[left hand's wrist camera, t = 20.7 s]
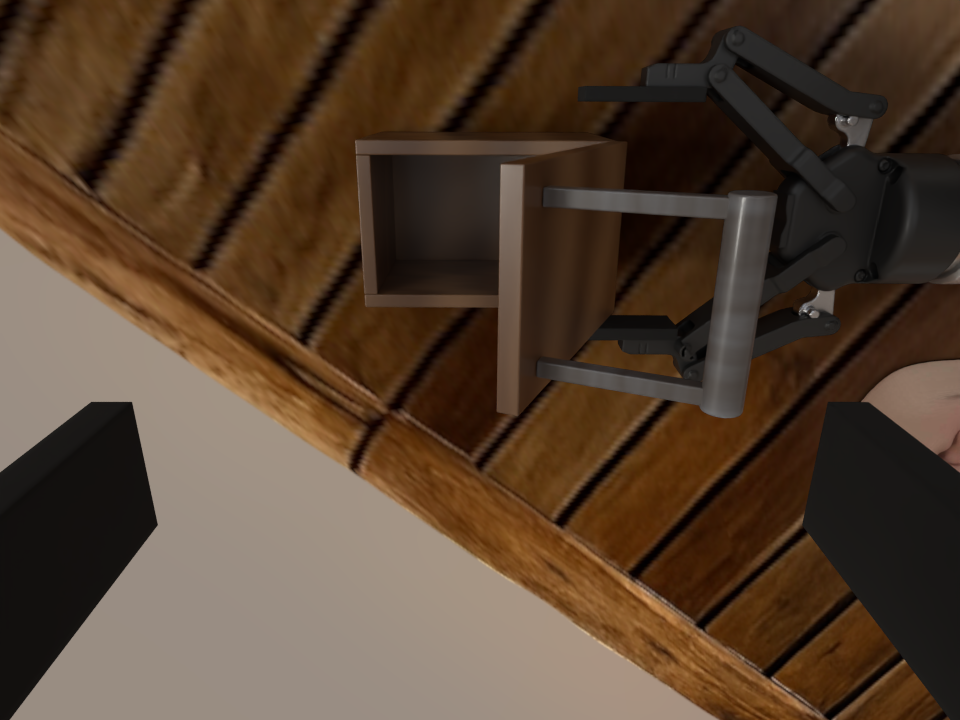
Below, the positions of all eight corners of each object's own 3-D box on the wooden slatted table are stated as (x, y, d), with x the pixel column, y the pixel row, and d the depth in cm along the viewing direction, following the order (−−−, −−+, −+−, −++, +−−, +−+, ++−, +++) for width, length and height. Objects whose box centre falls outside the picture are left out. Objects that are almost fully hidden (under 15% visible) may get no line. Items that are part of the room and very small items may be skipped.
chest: (387, 267, 47) (365, 307, 38) (380, 131, 44) (354, 139, 35) (580, 268, 47) (604, 308, 38) (588, 132, 44) (617, 140, 35)
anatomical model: (848, 506, 49) (903, 364, 45) (822, 478, 53) (871, 344, 49) (1018, 525, 50) (1087, 387, 46) (981, 496, 54) (1042, 366, 50)
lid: (496, 412, 25) (733, 460, 22) (499, 163, 22) (780, 174, 19) (598, 309, 38) (759, 330, 34) (610, 141, 34) (790, 145, 31)
